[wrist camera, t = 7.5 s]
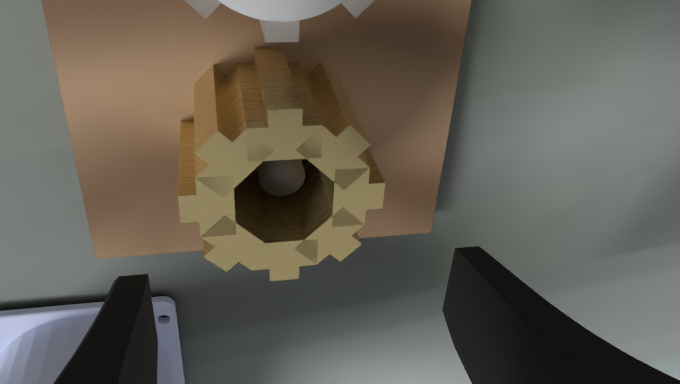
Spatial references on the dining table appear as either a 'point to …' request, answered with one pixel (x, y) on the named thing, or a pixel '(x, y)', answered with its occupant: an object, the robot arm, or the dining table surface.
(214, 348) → the dining table surface
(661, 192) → the dining table surface
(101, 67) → the gear board
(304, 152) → the brass gear
